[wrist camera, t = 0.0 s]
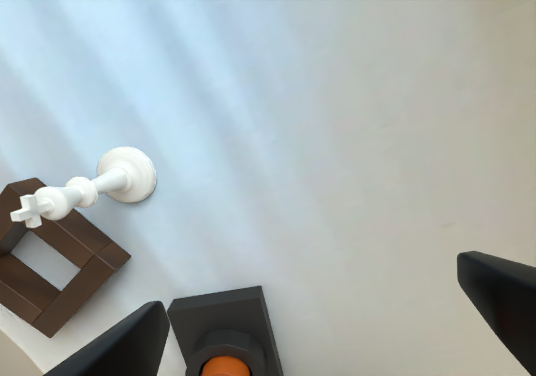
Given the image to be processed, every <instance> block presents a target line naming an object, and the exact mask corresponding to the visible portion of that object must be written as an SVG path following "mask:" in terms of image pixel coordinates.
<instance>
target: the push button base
mask: <svg viewBox="0 0 536 376" xmlns="http://www.w3.org/2000/svg"><path fill="white" fill-rule="evenodd" d="M167 314H168V317H169V320H170V322H171V325H172V328H173V330H174V333H175V336H176V339H177V341H178V344H179V347H180V349H181V352H182V355H183V358H184V360H185V363H186V366H187V369H186V373H185V375H186V376H201V375H202V371H203V368H204V366H205V364H206V363H207V362H208V361H209V360H210V359H211V358H213V357H217V356H224V355H227V356H231V357H234V358H238V359H240V360H242V361H243V362H244V363H245V364H246V365H247V367H248V369H249V372H250V376H284V375H283V371H282V367H281V363H280V359H279V355H278V351H277V347H276V343H275V339H274V335H273V331H272V327H271V323H270V319H269V315H268V311H267V307H266V303H265V299H264V295H263V291H262V287H261V286H256V287H250V288H243V289H237V290H231V291H224V292H218V293H211V294H205V295H199V296H192V297H186V298H180V299H174V300H173V301H172V303H171V305H170V307H169V308H168V310H167Z"/></svg>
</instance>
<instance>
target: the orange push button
mask: <svg viewBox="0 0 536 376" xmlns="http://www.w3.org/2000/svg"><path fill="white" fill-rule="evenodd" d="M201 376H250V372H249V369H248V367H247V365H246V364H245V363H244V362H243V361H242V360H240V359H238V358H234V357H231V356H227V355H224V356H217V357H213V358H211V359H210V360H209V361H208V362H207V363H206V364H205V366H204V368H203V371H202V375H201Z"/></svg>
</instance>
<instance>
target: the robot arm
mask: <svg viewBox="0 0 536 376" xmlns="http://www.w3.org/2000/svg"><path fill="white" fill-rule="evenodd" d="M457 277H458V282H459V284H460V286H461V288H462V289H463V291H464V292H465V293H466V295H467V296H468V297H469V299H470V300H471V302H472V303H473V304H474V306H475V307H476V308H477V310H478V311H479V312H480V314H481V315H482V317H483V318H484V319H485V321H486V322H487V323H488V325H489V326H490V327H491V329H492V330H493V331H494V333H495V334H496V335H497V337H498V338H499V339H500V340H501V341H502V343H503V344H504V345H505V346H506V347H507V348H508V350H509V351H510V352H511V353H512V354H513V355H514V356H515V358H516V359H517V360H518V361H519V362H520V363H521V364H522V366H523V367H524V368H525V369H526V370H527V371H528V372H529V374H530V375H531V376H536V267H532V266H528V265H525V264H521V263H517V262H514V261H510V260H506V259H503V258H499V257H495V256H492V255H488V254H484V253H481V252H477V251H470V252H463V253H460V254H458V256H457ZM169 329H170V322H169V319H168V316H167V314H166V311H165V308H164V305H163V303H162V302H161V301H153V302H148V303H146V304H144V305H143V306H141V307H140V308H139V309H137V310H136V311H134V312H133V313H131V314H130V315H129V316H127V317H126V318H124V319H123V320H121V321H120V322H119V323H117V324H116V325H114V326H113V327H111V328H110V329H109V330H107V331H106V332H104V333H103V334H101V335H100V336H99V337H97V338H96V339H94V340H93V341H91V342H90V343H89V344H87V345H86V346H84V347H83V348H81V349H80V350H79V351H77V352H76V353H74V354H73V355H71V356H70V357H69V358H67V359H66V360H64V361H63V362H61V363H60V364H59V365H57V366H56V367H54V368H53V369H51V370H50V371H49V372H47V373H46V374H44V375H43V376H157V373H158V369H159V365H160V362H161V358H162V355H163V351H164V347H165V344H166V340H167V337H168V333H169Z"/></svg>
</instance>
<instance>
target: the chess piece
mask: <svg viewBox="0 0 536 376" xmlns="http://www.w3.org/2000/svg"><path fill="white" fill-rule="evenodd" d="M97 176H98V177H97V178H95V179H93V180H91V181H90V180H88V179H87V178H84V177H73V178H71V179H70V180H69V181H68V182H67V183H66V184H65V187H43V188H40V189H38V190H37V191H36V192H35V194H34V195H25V196H22V197H20V200H21V204H22V209H20V210H17V211H14V212H11V213H10V215H11V219H12V221H20V222H21V221H23V220H25V223H26V227H28V228H35V227H38V226H40V225H42V223H41V218H40V215H41V216H42V217H44V218H46V219H49V220H59V219H62V218H64V217H65V216H66V215H67V214H68V213H69V212H70V211H71V210H72V209H73V208H74V207H75V206H76V207H80V208H86V207H90V206H92V205H94V204H95V202H96V201H97V198H98V194H102V193H107V194H108V195H109V196H110V197H112V198H113V199H115V200H118V201H120V202H125V203H134V202H138V201H141V200H143V199H145V198H147V197H148V196H149V195H150V194H151V193H152V192H153V190H154V188H155V186H156V181H157V176H156V170H155V167H154V165H153V163H152V162H151V160H150V159H149V158H148V157H147V156H146V155H145V154H144V153H143V152H141V151H140V150H138V149H135V148H132V147H127V146H121V147H117V148H114V149H112V150H110V151H108V152H106V153H105V154H104V155H103V156H102V157H101V159H100V161H99V163H98V166H97Z"/></svg>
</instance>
